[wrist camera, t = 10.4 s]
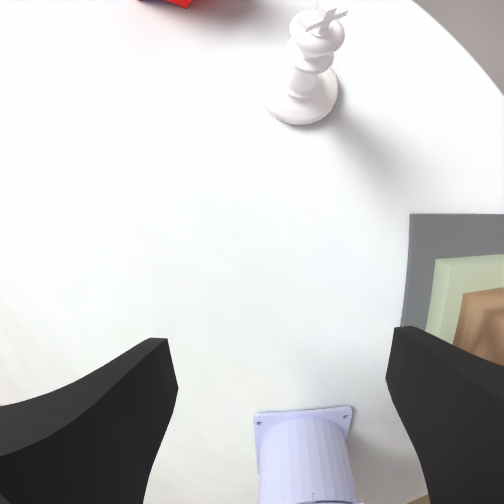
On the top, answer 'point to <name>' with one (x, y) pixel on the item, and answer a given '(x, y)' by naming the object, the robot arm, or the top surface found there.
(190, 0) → the toy building block
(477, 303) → the walnut snap block
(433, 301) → the base block
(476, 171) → the top surface
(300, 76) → the chess piece
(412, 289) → the build mat
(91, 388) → the robot arm
